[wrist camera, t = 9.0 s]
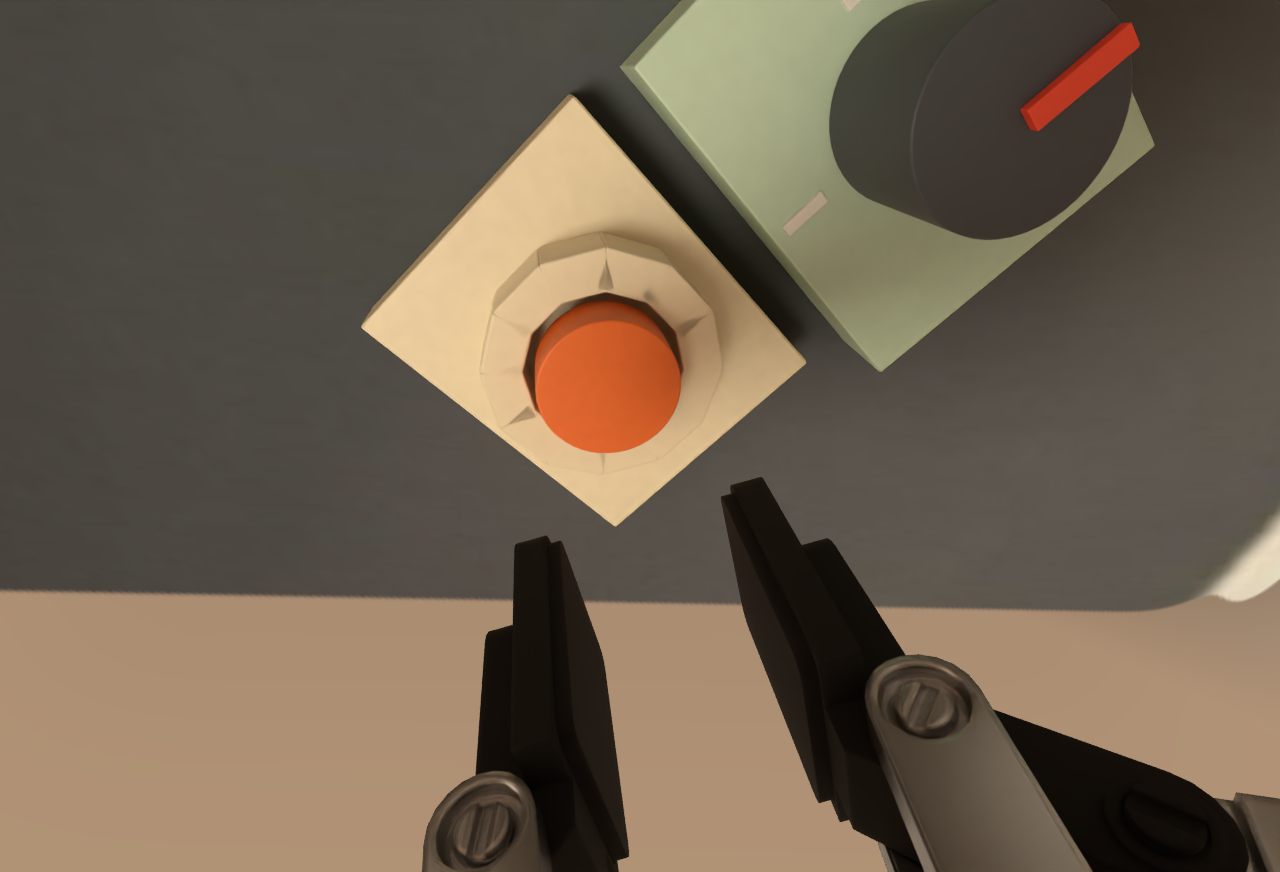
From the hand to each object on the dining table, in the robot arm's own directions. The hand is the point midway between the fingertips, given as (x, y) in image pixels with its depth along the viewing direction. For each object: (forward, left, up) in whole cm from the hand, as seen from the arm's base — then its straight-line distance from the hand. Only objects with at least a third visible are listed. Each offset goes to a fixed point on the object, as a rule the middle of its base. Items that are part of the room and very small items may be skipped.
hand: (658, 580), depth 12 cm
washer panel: (+1, +11, -13) cm, 17 cm away
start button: (0, 0, -10) cm, 10 cm away
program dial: (+1, +11, -10) cm, 15 cm away
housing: (0, 0, -13) cm, 13 cm away
